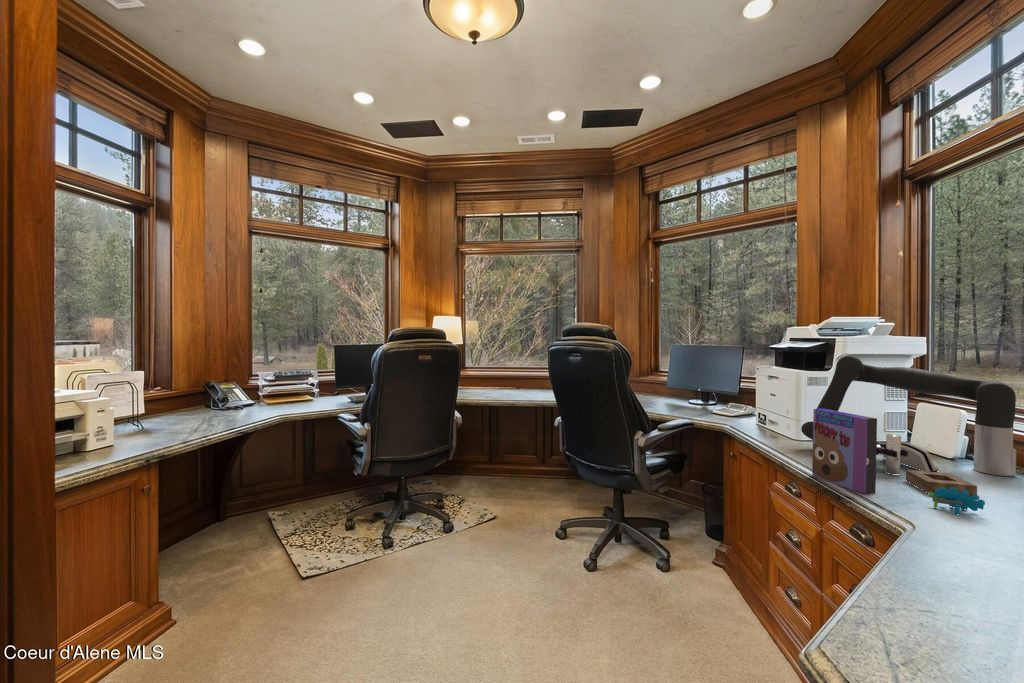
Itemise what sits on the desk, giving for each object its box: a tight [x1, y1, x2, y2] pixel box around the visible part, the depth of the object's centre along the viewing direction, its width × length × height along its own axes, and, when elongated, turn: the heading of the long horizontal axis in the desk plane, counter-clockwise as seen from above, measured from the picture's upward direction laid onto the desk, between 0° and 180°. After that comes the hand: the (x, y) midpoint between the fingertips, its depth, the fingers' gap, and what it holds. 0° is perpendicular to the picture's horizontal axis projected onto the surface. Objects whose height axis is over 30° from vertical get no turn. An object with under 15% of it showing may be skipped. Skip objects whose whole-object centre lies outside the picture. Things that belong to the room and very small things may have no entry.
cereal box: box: [811, 408, 878, 495], centre depth 141 cm, size 17×5×24 cm, turn 14°
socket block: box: [905, 469, 978, 497], centre depth 137 cm, size 12×12×4 cm
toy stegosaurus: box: [928, 487, 986, 515], centre depth 119 cm, size 11×6×10 cm
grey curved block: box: [883, 441, 940, 472], centre depth 161 cm, size 17×5×10 cm, turn 5°
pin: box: [884, 433, 902, 475], centre depth 152 cm, size 4×4×14 cm
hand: (901, 454), depth 149 cm, fingers open, 4 cm apart
